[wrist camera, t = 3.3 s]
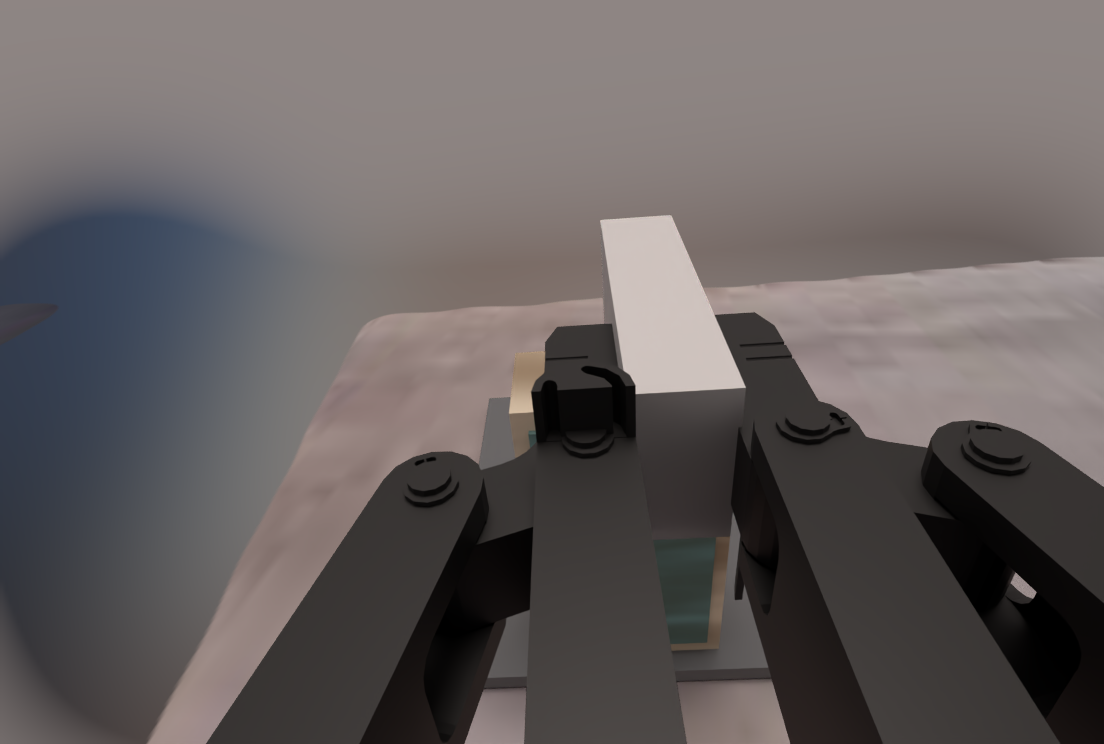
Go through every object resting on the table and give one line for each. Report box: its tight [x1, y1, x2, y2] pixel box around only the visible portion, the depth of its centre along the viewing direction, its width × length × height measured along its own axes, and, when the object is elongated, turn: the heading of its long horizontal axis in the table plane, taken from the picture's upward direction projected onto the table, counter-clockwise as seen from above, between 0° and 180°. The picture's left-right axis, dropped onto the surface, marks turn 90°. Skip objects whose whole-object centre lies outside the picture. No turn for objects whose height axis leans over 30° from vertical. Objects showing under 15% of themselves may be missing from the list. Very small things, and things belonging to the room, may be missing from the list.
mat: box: [479, 397, 771, 688], centre depth 38 cm, size 22×17×1 cm
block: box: [509, 351, 730, 651], centre depth 27 cm, size 4×8×14 cm, turn 89°
